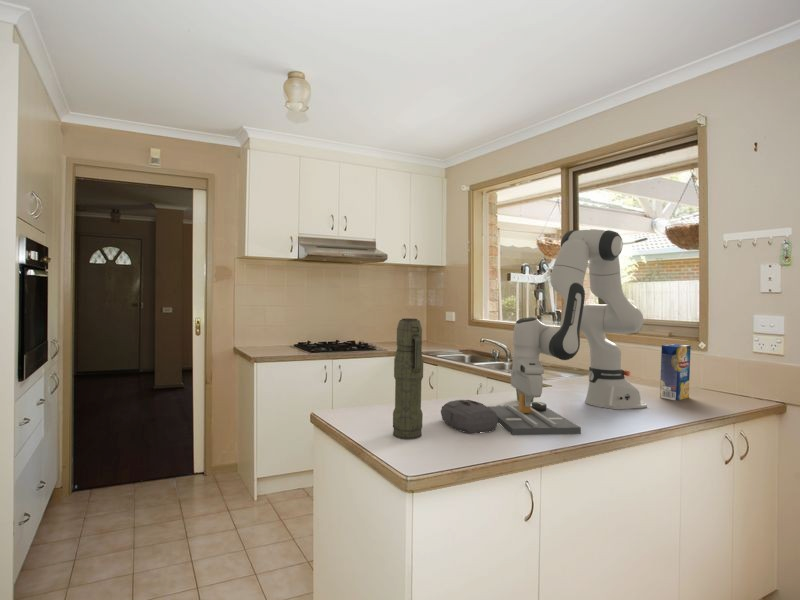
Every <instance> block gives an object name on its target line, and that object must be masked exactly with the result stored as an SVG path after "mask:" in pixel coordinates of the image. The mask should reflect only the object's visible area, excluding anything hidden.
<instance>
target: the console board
mask: <svg viewBox="0 0 800 600" xmlns="http://www.w3.org/2000/svg"><path fill="white" fill-rule="evenodd" d="M547 405H548V404H547V403H545V402H540V401H537V402H536V401H533V402H531V408H530V413H522V412H520V411H519V405H512V404H510V403H507V404H506V405H503V406H501V405H498V406H495V405H494V406H492V405H491V406H489V405H488V406H487V405H486V406H487V407H489V408H490V409H492V410H493V411H494V412H495V413H496V414H497V418H498V423H497V424H499V423H500V424H501V425H502V426H503V427H504V430H506V431H507V432H508V433H509V432H510V433H511V434H510V433H509V434H510V435H512V436H533V435H534V436H535V435H538V436H540V435H542V436H543V435H544V436H546V435H581V433H582V428H581V426H579V425H577V424H576V423H574V422H572V421H571V420H569V419H568V418H565V416H562V415H561V414H559V413H557V412H555V411H554V410H552V409H551V408H549V407H547ZM500 424H499V425H500ZM501 425H500V426H501ZM502 426H501V427H502ZM503 427H502V428H503Z"/></svg>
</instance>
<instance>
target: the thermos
mask: <svg viewBox="0 0 800 600" xmlns="http://www.w3.org/2000/svg"><path fill="white" fill-rule="evenodd" d="M422 343H423V327H422V324H421V321H420V320H419V319H418V318H401V319H400V320H399V321H398V324H397V327H396V346H397V347H396V353H395V357H394V359H393V377H394V380H395V387H394V388H395V389H394V391H395V392H394V410H393V412H392V429H393V430H392V436H393V437H394V438H397V439H400V440H416V439H419V438H421V437H422V433H423V432H422V429H423V411H422V381H423V378H424V357H423V354H422V353H423V352H422V351H423V350H422V347H423V346H422V345H423V344H422Z"/></svg>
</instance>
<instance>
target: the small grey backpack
mask: <svg viewBox="0 0 800 600" xmlns="http://www.w3.org/2000/svg"><path fill="white" fill-rule="evenodd" d="M440 414H441V419H442V421H444V422H445V423H446V424H447V425H448V426H450V427H451V426H452V428H453V429H455V428H456V430H457V429H458V430H457V431H460V430H461V431H460V432H463V431H464V433H468V434H473V433H477V434H481V433H480V432H485V433H490V432H489V431H491V432H492V431H495V430H496V428H497V427H498V424H499V423H498V418H497V414H496V413H495V412H494V411H493V410H492V409H490V408H489V407H487V405H485V404H484V403H481V402H479V401H475V400H471V399H457V400H455V399H454V400H451V401H448V402H446V403H444V405H443V406H441V409H440Z"/></svg>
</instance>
